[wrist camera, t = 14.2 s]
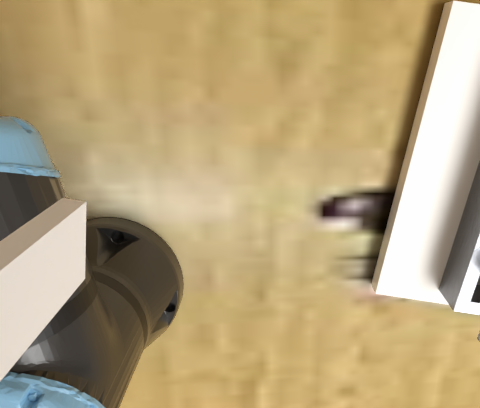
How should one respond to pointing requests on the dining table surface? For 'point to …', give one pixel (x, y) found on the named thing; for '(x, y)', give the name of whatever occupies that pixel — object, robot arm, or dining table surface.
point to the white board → (436, 163)
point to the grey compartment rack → (465, 258)
